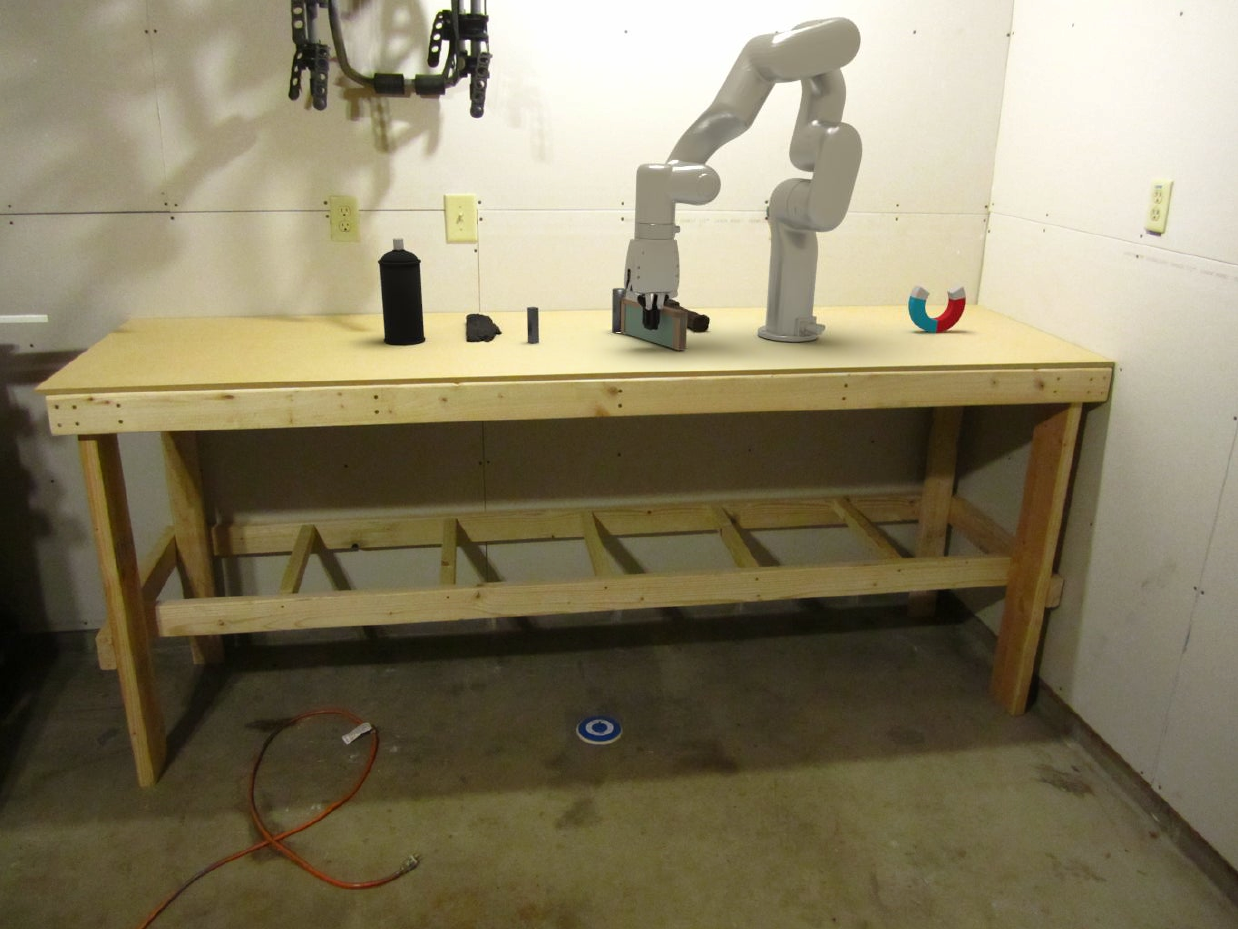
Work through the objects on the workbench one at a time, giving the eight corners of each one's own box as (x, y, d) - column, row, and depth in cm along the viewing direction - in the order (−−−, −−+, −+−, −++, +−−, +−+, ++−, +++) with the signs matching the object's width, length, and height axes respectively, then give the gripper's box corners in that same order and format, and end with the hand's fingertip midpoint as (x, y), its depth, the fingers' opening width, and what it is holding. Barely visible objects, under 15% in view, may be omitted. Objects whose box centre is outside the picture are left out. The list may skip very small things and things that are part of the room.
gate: (628, 331, 197) (629, 296, 195) (686, 348, 183) (687, 312, 180) (620, 332, 196) (621, 297, 194) (678, 350, 182) (679, 313, 179)
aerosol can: (434, 341, 188) (428, 239, 181) (399, 347, 182) (392, 242, 175) (409, 334, 193) (403, 235, 186) (375, 340, 188) (367, 238, 181)
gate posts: (629, 332, 198) (629, 289, 195) (534, 344, 186) (533, 299, 183) (621, 329, 200) (621, 287, 197) (527, 341, 188) (526, 296, 185)
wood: (503, 344, 188) (503, 329, 187) (466, 344, 187) (465, 329, 186) (499, 322, 209) (499, 308, 208) (466, 322, 208) (465, 308, 207)
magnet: (909, 333, 201) (915, 286, 197) (904, 330, 203) (910, 284, 200) (961, 332, 202) (968, 286, 199) (955, 330, 205) (962, 284, 201)
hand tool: (710, 332, 200) (711, 311, 198) (693, 334, 199) (693, 312, 197) (674, 316, 217) (675, 296, 215) (658, 317, 215) (658, 297, 214)
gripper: (680, 229, 183) (675, 322, 189) (610, 231, 177) (607, 327, 183) (698, 233, 177) (693, 330, 183) (626, 235, 171) (624, 335, 177)
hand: (650, 328), depth 183 cm, fingers closed
